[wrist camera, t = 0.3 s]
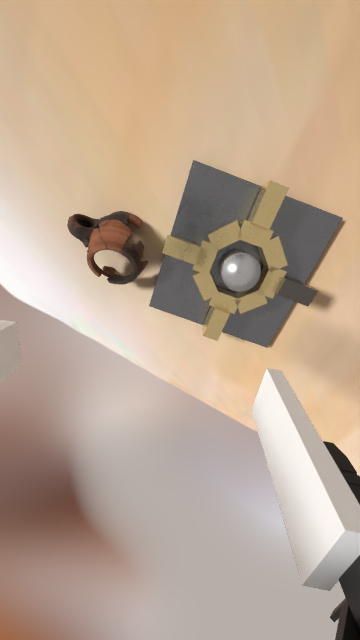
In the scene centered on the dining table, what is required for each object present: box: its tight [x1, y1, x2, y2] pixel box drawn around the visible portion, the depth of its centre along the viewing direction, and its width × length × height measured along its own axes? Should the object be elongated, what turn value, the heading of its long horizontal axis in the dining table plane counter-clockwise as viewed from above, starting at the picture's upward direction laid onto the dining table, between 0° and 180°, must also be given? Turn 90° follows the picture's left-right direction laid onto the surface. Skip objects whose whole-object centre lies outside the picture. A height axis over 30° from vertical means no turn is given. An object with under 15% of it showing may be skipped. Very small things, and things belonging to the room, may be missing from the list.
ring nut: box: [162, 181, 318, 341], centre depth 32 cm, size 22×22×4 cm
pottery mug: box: [67, 211, 148, 284], centre depth 34 cm, size 12×10×8 cm
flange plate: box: [149, 160, 342, 348], centre depth 33 cm, size 22×22×6 cm
